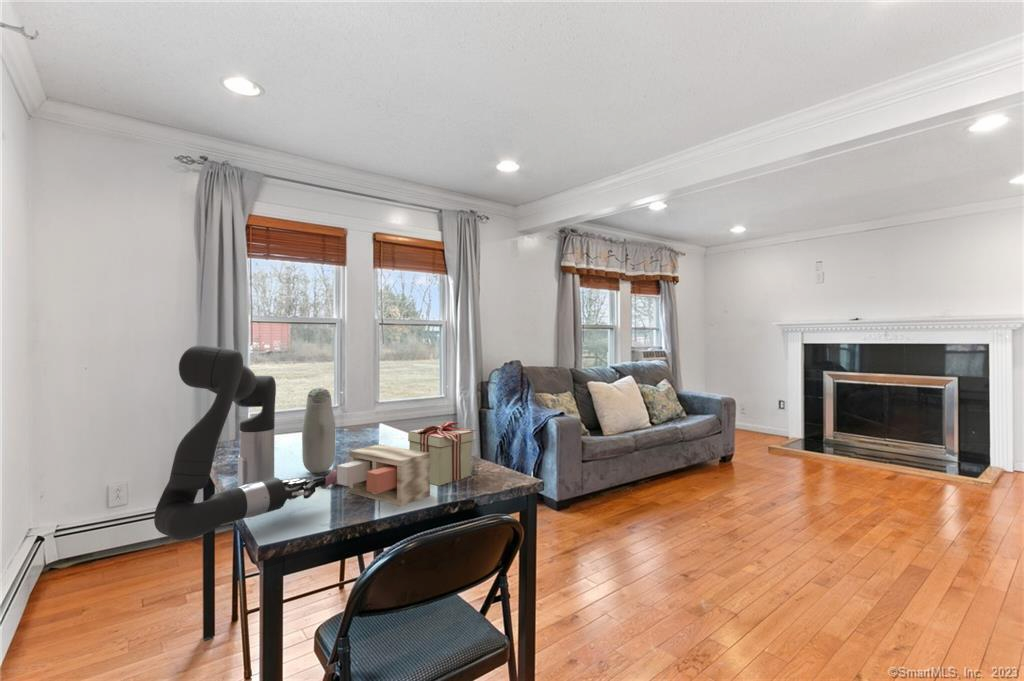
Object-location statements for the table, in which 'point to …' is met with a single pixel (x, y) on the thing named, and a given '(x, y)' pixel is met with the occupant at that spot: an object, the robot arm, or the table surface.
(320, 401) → the off-white bottle
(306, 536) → the table surface
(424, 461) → the box
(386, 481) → the rust-red plug
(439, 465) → the gift box
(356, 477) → the off-white plug
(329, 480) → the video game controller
